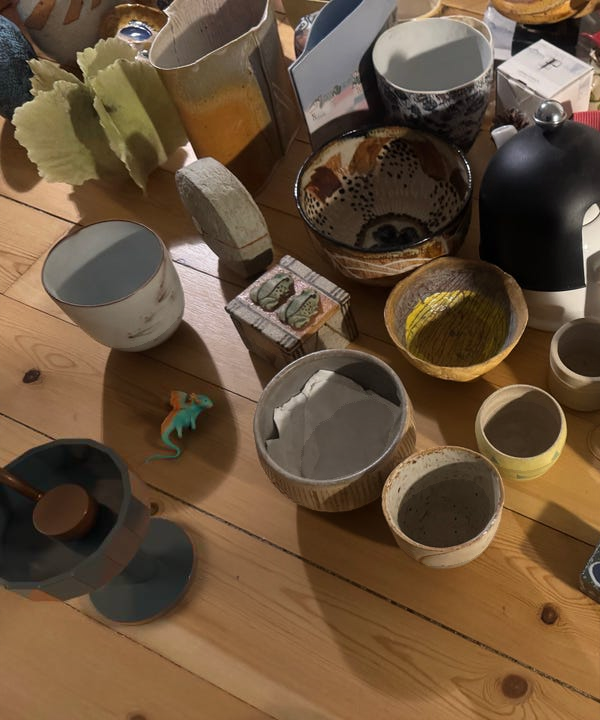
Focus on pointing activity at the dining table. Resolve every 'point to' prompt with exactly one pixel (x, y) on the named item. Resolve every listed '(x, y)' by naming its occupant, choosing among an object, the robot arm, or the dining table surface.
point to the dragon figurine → (182, 416)
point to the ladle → (58, 508)
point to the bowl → (94, 537)
